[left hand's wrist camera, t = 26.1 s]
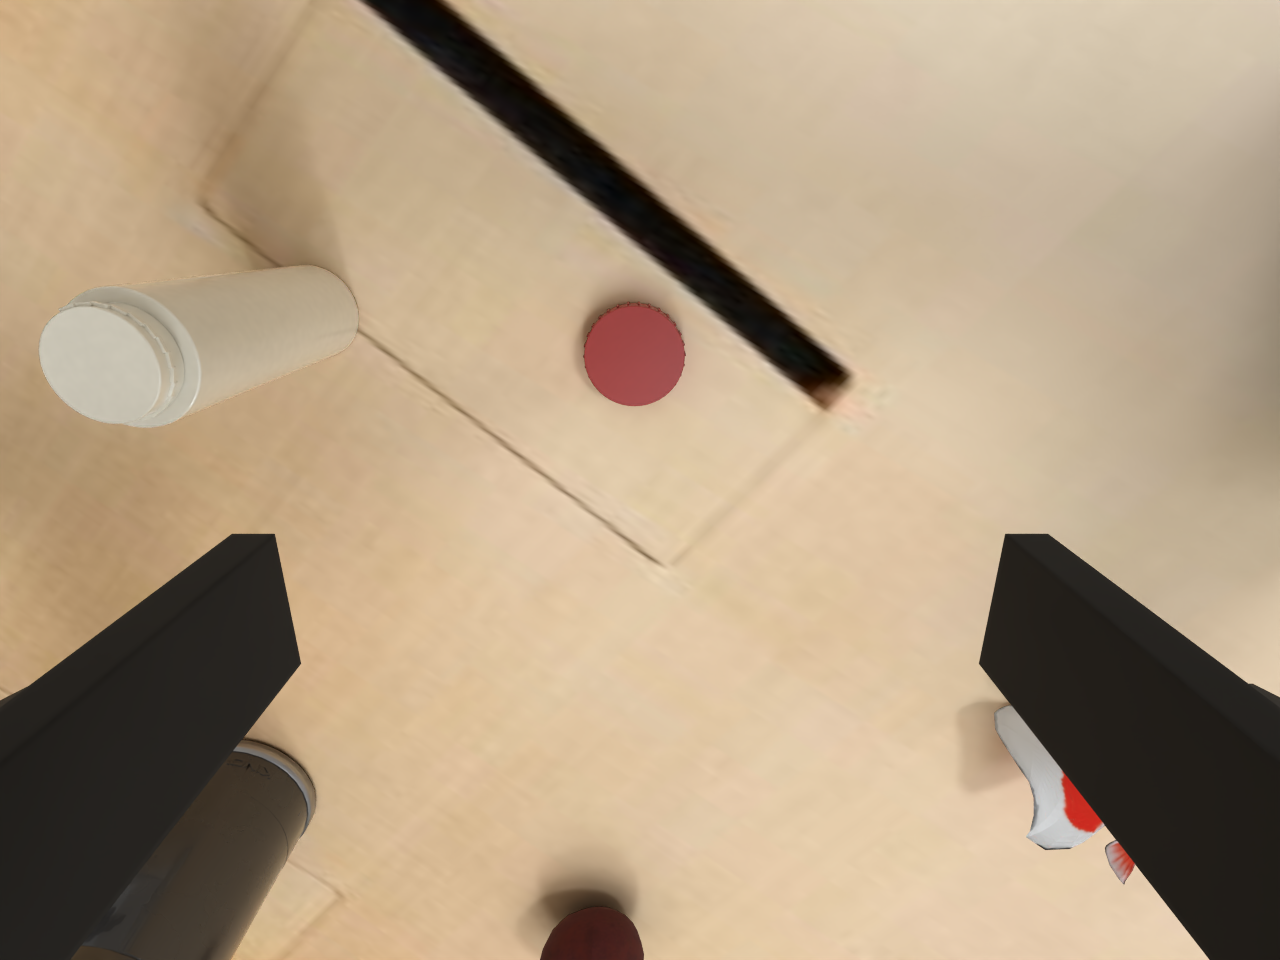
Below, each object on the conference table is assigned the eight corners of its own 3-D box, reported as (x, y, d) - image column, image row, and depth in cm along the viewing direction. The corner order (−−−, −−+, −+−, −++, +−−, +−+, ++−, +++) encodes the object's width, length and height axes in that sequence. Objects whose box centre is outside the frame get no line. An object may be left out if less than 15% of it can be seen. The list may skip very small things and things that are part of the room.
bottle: (374, 340, 37) (205, 412, 23) (295, 369, 38) (80, 457, 23) (332, 251, 36) (121, 267, 21) (250, 283, 36) (-12, 319, 22)
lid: (568, 371, 38) (565, 377, 36) (614, 282, 36) (613, 284, 35) (653, 417, 39) (653, 425, 37) (702, 332, 37) (705, 336, 36)
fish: (1090, 927, 46) (1204, 1009, 36) (923, 739, 49) (987, 768, 39) (1198, 817, 47) (1337, 867, 37) (1028, 639, 50) (1116, 643, 40)
